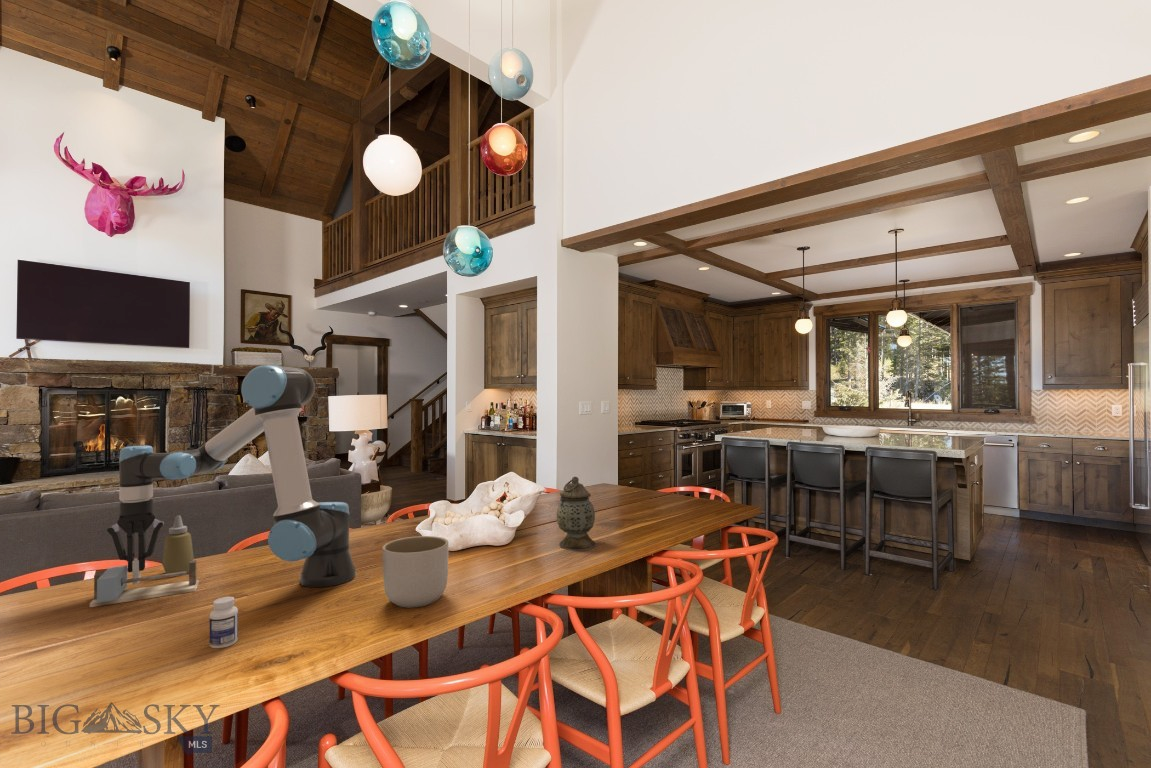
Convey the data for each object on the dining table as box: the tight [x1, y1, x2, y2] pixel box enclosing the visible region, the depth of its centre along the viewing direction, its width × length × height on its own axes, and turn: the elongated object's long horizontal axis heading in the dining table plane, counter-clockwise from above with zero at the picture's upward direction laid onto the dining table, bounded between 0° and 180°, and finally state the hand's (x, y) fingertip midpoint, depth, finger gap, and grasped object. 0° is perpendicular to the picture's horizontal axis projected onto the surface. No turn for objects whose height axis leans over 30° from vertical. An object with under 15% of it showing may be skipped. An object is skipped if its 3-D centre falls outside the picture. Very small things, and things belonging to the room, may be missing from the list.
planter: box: [381, 535, 450, 609], centre depth 145 cm, size 17×17×15 cm
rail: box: [89, 559, 200, 608], centre depth 153 cm, size 23×8×8 cm, turn 119°
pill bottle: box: [209, 596, 239, 649], centre depth 121 cm, size 5×5×10 cm
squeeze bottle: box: [161, 515, 195, 574], centre depth 171 cm, size 8×8×18 cm
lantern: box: [556, 476, 597, 551], centre depth 197 cm, size 14×14×25 cm
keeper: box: [97, 564, 128, 603], centre depth 149 cm, size 4×12×6 cm, turn 29°
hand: (136, 582), depth 155 cm, fingers closed
